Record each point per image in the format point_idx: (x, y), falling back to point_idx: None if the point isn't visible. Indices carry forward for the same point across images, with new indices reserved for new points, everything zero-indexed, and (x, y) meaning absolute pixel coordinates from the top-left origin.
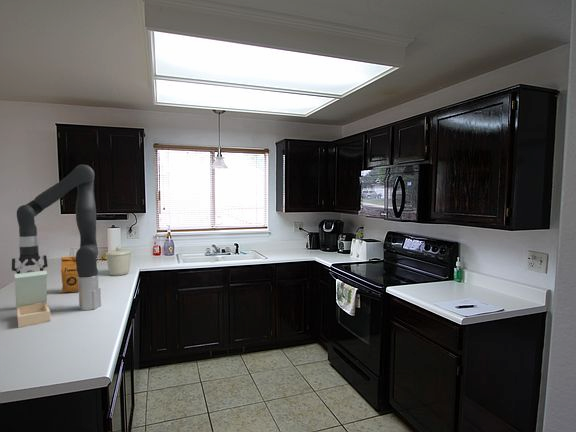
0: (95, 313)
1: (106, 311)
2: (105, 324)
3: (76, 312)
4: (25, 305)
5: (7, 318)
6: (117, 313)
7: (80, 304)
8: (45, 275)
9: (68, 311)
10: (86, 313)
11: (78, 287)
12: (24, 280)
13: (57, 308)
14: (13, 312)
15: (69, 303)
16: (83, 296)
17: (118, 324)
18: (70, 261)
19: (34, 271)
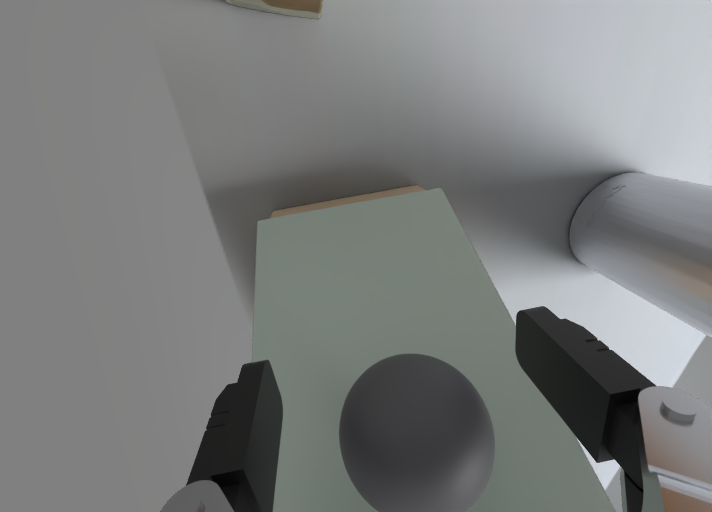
0: (603, 329)
1: (647, 322)
2: (587, 453)
3: (544, 276)
4: (278, 7)
5: (225, 211)
6: (666, 365)
7: (593, 260)
8: (574, 481)
9: (516, 239)
10: (575, 312)
11: (698, 284)
12: (345, 483)
13: (473, 140)
14: (220, 80)
15: (553, 44)
16: (648, 301)
17: (617, 465)
18: None
19: (489, 475)
